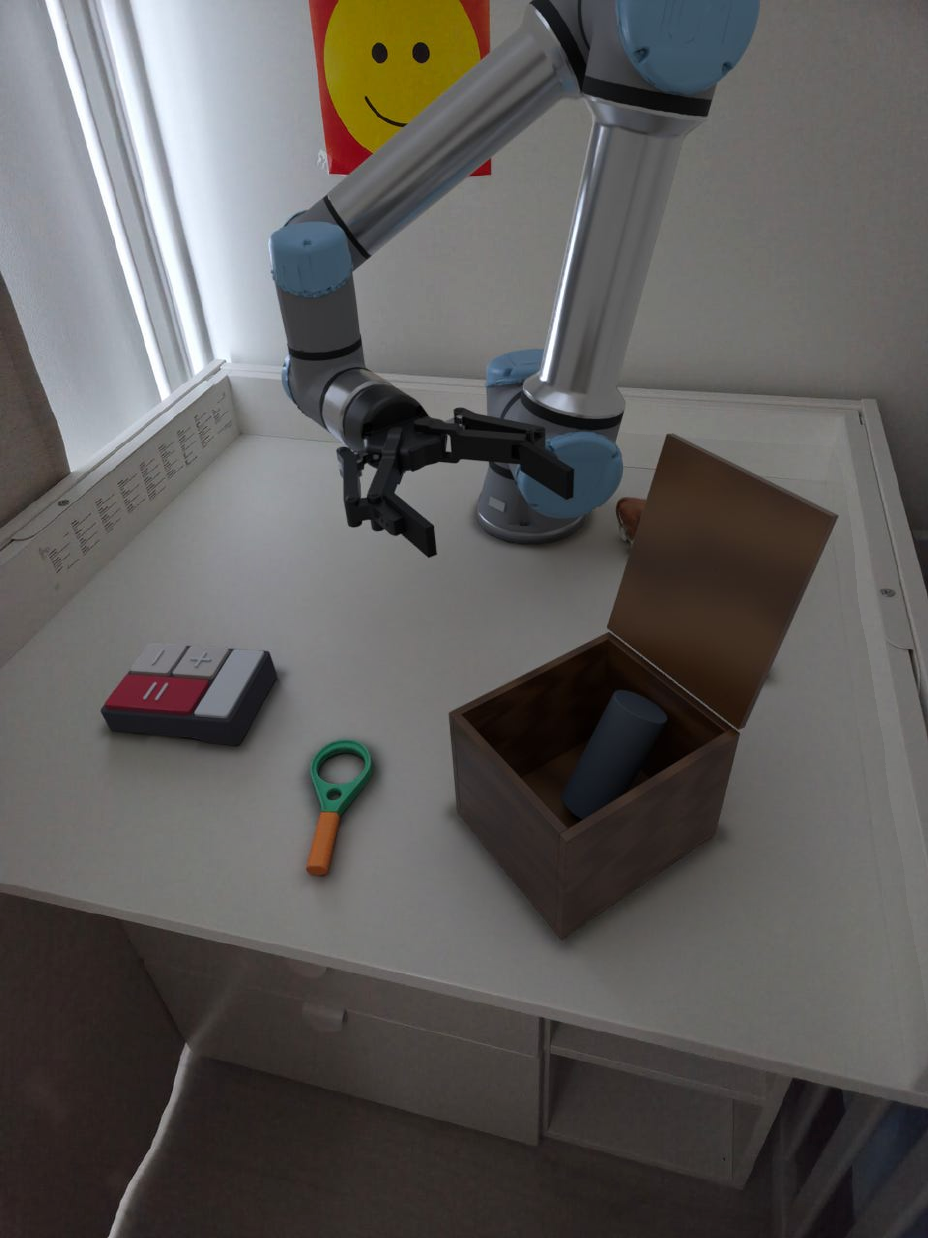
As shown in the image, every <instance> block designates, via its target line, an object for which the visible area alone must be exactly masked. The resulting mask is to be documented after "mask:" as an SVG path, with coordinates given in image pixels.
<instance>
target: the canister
mask: <svg viewBox="0 0 928 1238" xmlns="http://www.w3.org/2000/svg"><path fill="white" fill-rule="evenodd" d="M666 722H667V716H666V714H665V713H664V711H663V710H662V709H661V708H660V707H658V706H657V705H656V704H655V703H653V702H652V701H650V700H648V699H647V698H645V697H643V696H641V695H639V694H636V693H633V692H630V691H626V690H617V691H615V692H614V694H613V696H612V698H611V700H610V702H609V704H608V705H607V707H606V709H605V711H604V713H603V715H602V717H601V719H600V721H599V723H598V725H597V727H596V728H595V730H594V732H593V734H592V736H591V738H590V740H589V742H588V744H587V746H586V748H585V750H584V751H583V753H582V755H581V757H580V759H579V761H578V763H577V765H576V767H575V769H574V771H573V773H572V774H571V776H570V778H569V780H568V782H567V784H566V786H565V788H564V790H563V792H562V794H561V798H562V801H563V803H564V804H565V806H566V807H567V808H568V809H569V810H570V811H571V812H572V813H573V814H575V815H576V816H577V817H579V818H581V819H582V820H583V819H585V818H587V817H588V816H590V815H592V814H593V813H595V812H596V811H598V810H600V809H601V808H603V807H605V806H606V805H608V804H609V803H611V802H613V801H614V800H616V799H617V798H619V797H621V796H622V795H624V794H626V793H627V792H628V790H629V789H630V787H631V785H632V783H633V781H634V780H635V778H636V776H637V774H638V772H639V771H640V769H641V767H642V765H643V763H644V762H645V760H646V758H647V756H648V754H649V753H650V751H651V749H652V747H653V745H654V744H655V742H656V740H657V738H658V736H659V735H660V733H661V731H662V729H663V727H664V726H665V724H666Z"/></svg>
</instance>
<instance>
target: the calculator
mask: <svg viewBox="0 0 928 1238" xmlns="http://www.w3.org/2000/svg"><path fill="white" fill-rule="evenodd" d="M277 677H278V673H277V671H276V668H275V664H274V662H273V658H272V655H271V652H270V651H269V650H263V649H262V650H261V649H247V648H245V649H244V648H229V647H226V646H212V645H211V646H210V645H194V644H193V645H186V644H178V643H176V644H175V643H160V642H150V643H148V644H147V646H146V647H145V648H144V649H143V651H142V652H141V654H140V655H139V656H138V658H137V659H136V660H135V662H134V663H133V664H132V666H131V667H130V668H129V670H128V672H127V673H126V674H125V675H124V677H122V679H121V680H120V682H119V683H118V684H117V686H116V687H115V689H114V690H113V691H112V692H111V694H110V695H109V696H108V698H107V699H106V700H105V702H104V704H103V706H102V707H100V714H101V715H102V717H103V719H104V721H105V723H106V724H107V727H108V729H109V730H110V731H113V732H124V733H134V734H147V735H156V736H157V735H158V736H169V737H180V738H181V737H182V738H191V739H198V740H200V741H201V742H204V743H206V744H218V745H229V746H238V745H240V744H241V742H242V741H243V739H244V737H245V735H246V733H247V732H248V730H249V728H250V726H251V724H252V722H253V720H254V719H255V717H256V716H257V713H258V712H259V709H260V707H262V704H263V702H264V700H265V699H266V697H267V695H268V693H269V691H270V689H271V688H272V685H273V684H274V682H275V680H276V678H277Z"/></svg>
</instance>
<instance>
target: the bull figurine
mask: <svg viewBox="0 0 928 1238" xmlns="http://www.w3.org/2000/svg"><path fill="white" fill-rule="evenodd" d="M645 502H646V499H643V498H638V497H629V496H624V497H621V498H620V499H618V501H617V502H616V505H615V516H616V520H617V523H618V528H619V535H620V538H621V539H622V541H624V542H626V541H628V542H630V546H631V548H632V544H633V541H634V538H635V535H636V531H637V528H638V525H639V522H640V519H641V515H642V512H643V509H644V506H645Z"/></svg>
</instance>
